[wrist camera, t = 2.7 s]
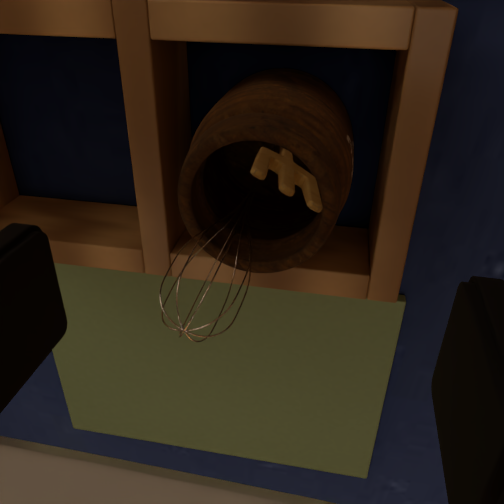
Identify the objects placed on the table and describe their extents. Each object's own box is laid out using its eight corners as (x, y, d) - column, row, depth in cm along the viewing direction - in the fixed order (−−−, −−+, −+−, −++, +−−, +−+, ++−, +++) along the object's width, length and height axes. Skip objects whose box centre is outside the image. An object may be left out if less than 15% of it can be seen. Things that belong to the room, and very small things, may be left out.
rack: (4, 213, 26) (-49, 251, 22) (-61, -15, 20) (-145, -10, 17) (390, 253, 23) (396, 304, 19) (439, -3, 17) (459, 7, 14)
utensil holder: (194, 158, 22) (57, 327, 12) (260, 26, 19) (144, 105, 9) (305, 222, 23) (264, 434, 12) (388, 105, 19) (422, 266, 9)
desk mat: (77, 421, 34) (73, 428, 33) (32, 251, 27) (26, 257, 26) (366, 470, 31) (366, 479, 30) (405, 294, 24) (406, 302, 23)
